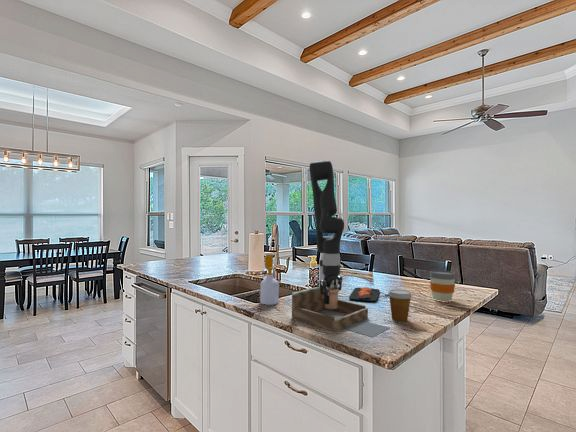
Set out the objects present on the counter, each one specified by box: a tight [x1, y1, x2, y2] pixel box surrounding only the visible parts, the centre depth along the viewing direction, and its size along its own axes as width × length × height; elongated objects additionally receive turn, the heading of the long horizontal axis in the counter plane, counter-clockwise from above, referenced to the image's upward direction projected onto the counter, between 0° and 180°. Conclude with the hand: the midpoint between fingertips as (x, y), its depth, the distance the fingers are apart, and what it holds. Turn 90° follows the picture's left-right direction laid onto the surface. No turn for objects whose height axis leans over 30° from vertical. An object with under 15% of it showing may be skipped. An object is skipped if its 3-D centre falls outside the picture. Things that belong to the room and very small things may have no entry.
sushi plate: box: [349, 286, 389, 302], centre depth 175 cm, size 29×30×4 cm
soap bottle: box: [259, 253, 280, 306], centre depth 160 cm, size 9×9×25 cm
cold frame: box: [291, 285, 369, 333], centre depth 137 cm, size 24×23×11 cm
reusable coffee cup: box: [429, 269, 456, 301], centre depth 170 cm, size 12×13×15 cm
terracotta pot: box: [325, 284, 340, 310], centre depth 137 cm, size 6×6×11 cm
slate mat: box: [344, 320, 391, 338], centre depth 125 cm, size 14×12×1 cm
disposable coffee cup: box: [387, 288, 412, 323], centre depth 137 cm, size 10×10×12 cm
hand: (331, 302), depth 137 cm, fingers closed on terracotta pot, 5 cm apart
